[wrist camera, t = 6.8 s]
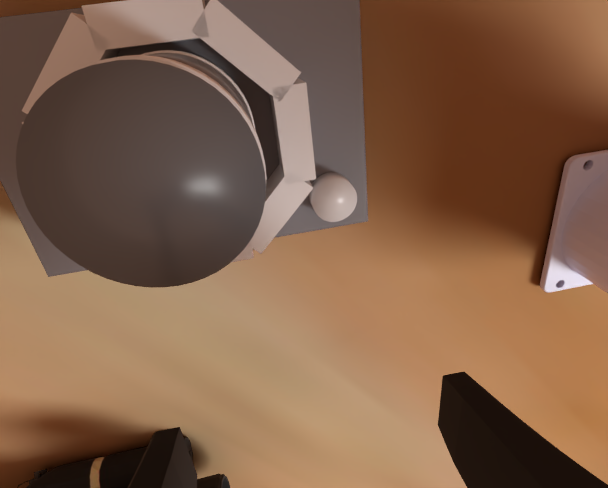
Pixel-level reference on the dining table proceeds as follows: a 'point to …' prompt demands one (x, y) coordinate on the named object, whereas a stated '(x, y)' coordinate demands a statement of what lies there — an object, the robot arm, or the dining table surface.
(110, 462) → the night vision scope
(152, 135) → the lens
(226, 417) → the dining table surface
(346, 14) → the camera body
